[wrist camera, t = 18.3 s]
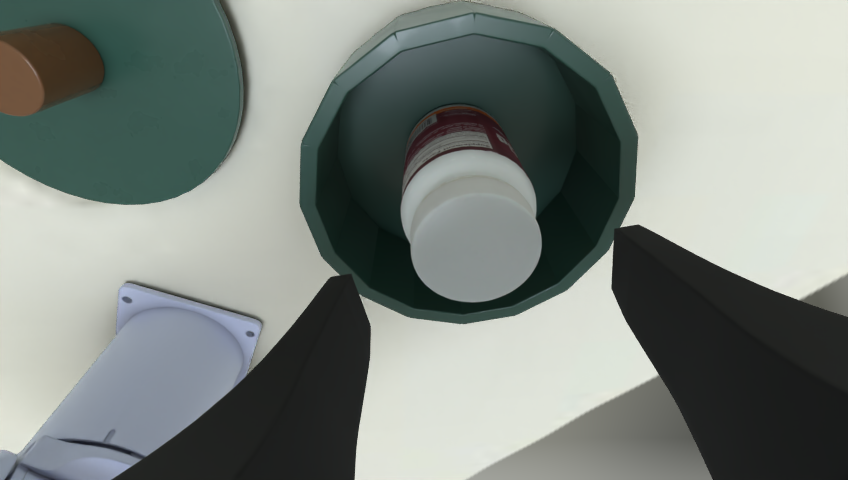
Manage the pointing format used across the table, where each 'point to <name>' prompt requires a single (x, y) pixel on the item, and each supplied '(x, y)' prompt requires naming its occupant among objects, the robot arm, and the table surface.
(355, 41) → the table surface
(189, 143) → the pan lid
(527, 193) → the pill bottle
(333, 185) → the pan
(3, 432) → the table surface
